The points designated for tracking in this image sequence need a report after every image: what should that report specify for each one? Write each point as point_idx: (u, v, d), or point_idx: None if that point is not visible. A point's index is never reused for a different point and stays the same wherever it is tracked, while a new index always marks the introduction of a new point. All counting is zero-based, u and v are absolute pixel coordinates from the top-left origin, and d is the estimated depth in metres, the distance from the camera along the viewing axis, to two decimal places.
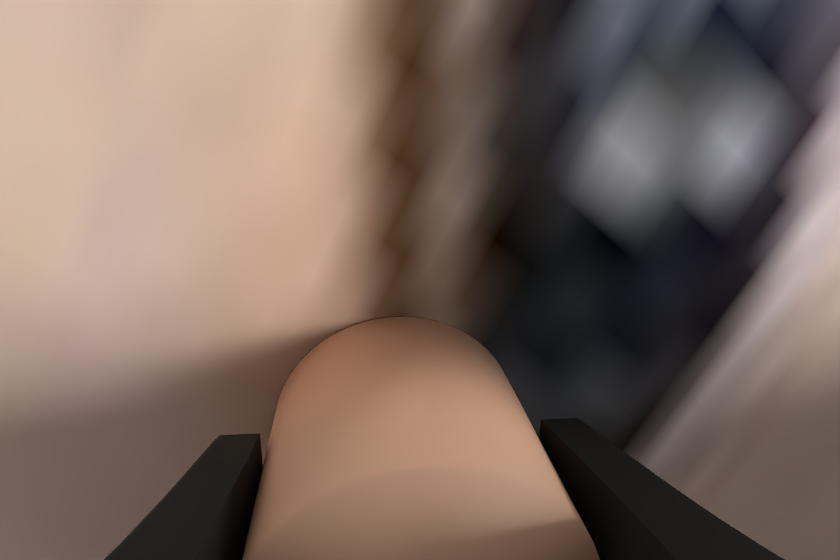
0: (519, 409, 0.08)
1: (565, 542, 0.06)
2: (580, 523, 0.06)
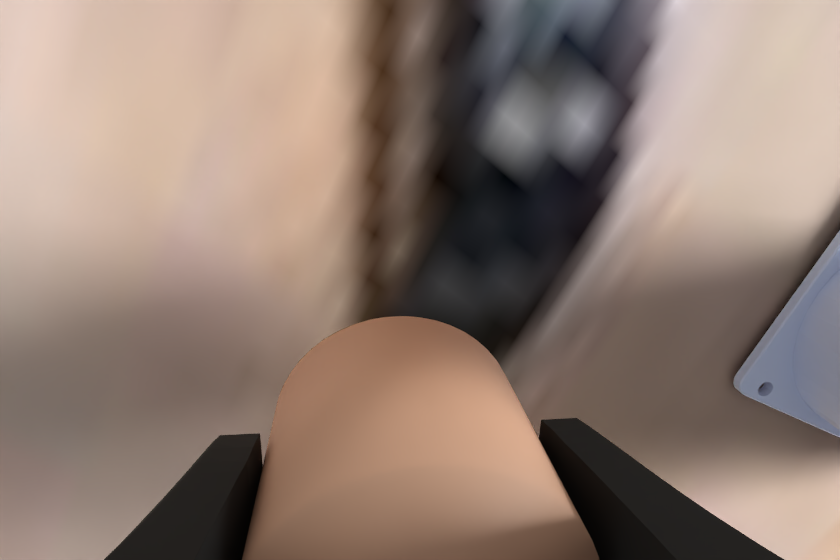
0: (519, 408, 0.08)
1: (565, 541, 0.06)
2: (579, 522, 0.06)
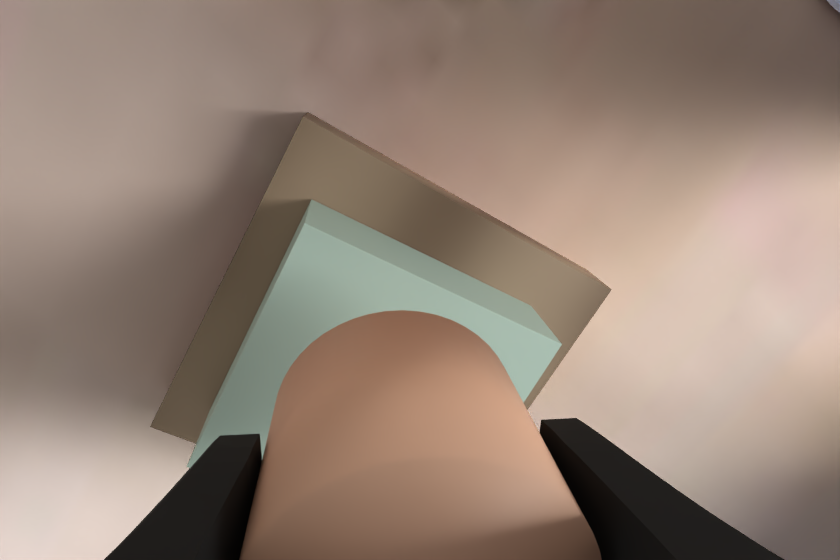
0: (519, 402, 0.08)
1: (565, 533, 0.06)
2: (580, 514, 0.06)
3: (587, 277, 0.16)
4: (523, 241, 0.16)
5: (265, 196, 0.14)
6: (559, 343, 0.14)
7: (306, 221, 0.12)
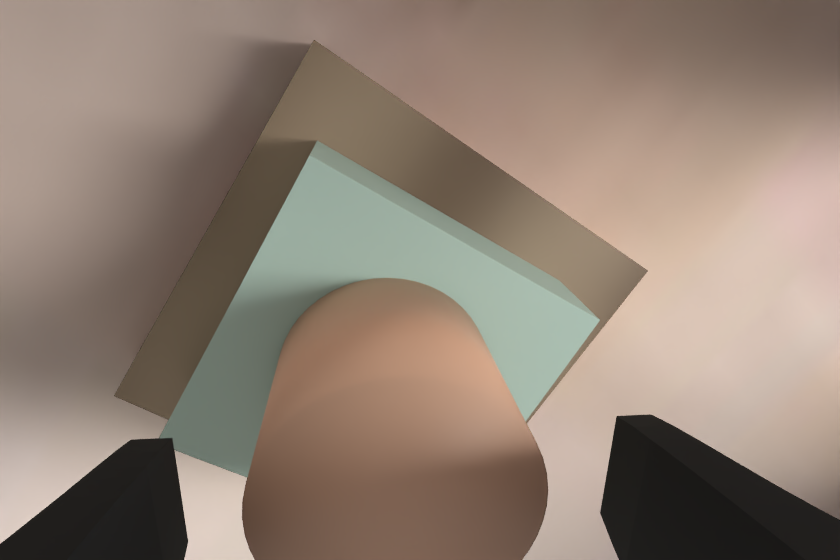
0: (484, 350, 0.10)
1: (513, 443, 0.08)
2: (525, 427, 0.08)
3: (622, 254, 0.14)
4: (555, 207, 0.14)
5: (264, 132, 0.12)
6: (597, 319, 0.12)
7: (311, 154, 0.10)
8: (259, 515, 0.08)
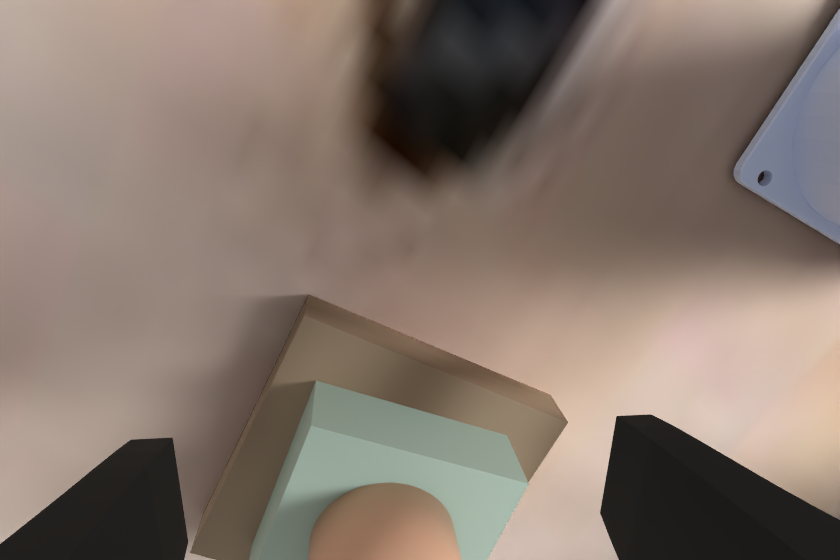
0: (438, 538, 0.15)
1: None
2: None
3: (546, 414, 0.19)
4: (490, 392, 0.19)
5: (277, 375, 0.18)
6: (526, 483, 0.17)
7: (312, 422, 0.16)
8: None
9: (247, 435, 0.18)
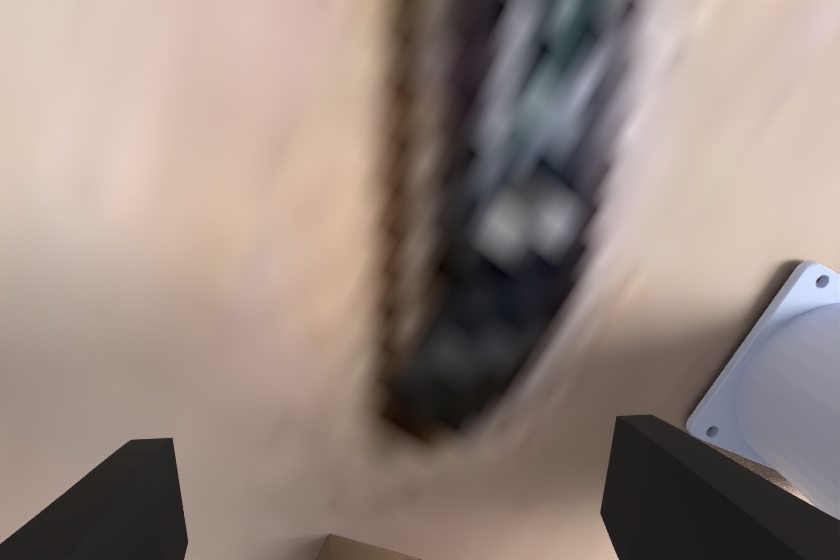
0: None
1: None
2: None
3: None
4: None
5: None
6: None
7: None
8: None
9: None
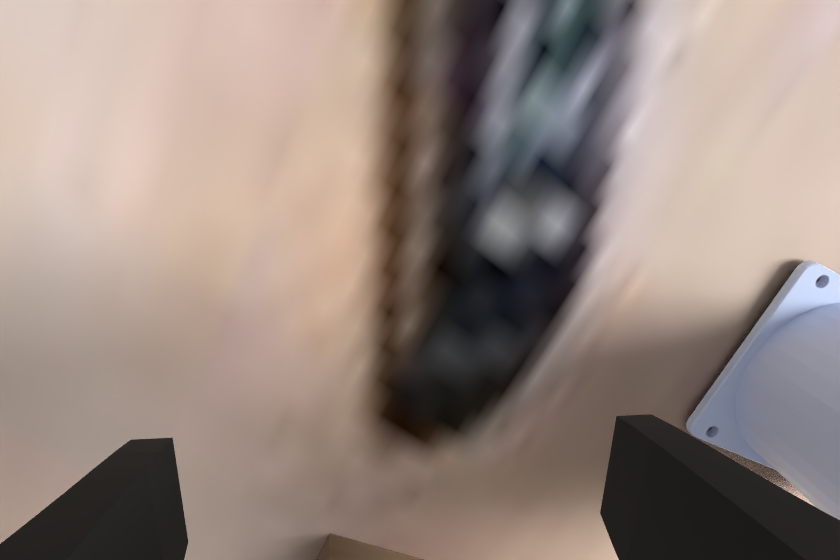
0: None
1: None
2: None
3: None
4: None
5: None
6: None
7: None
8: None
9: None
